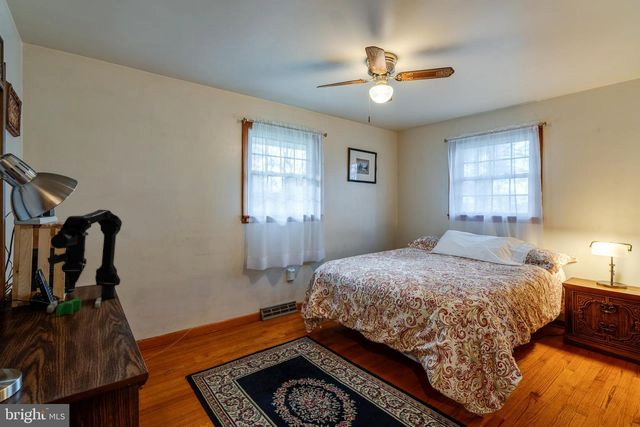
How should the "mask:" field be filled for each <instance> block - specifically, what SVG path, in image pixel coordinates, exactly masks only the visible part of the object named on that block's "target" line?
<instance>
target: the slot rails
mask: <svg viewBox="0 0 640 427" xmlns="http://www.w3.org/2000/svg"><path fill="white" fill-rule="evenodd" d="M53 301H54V302H53V303H51V302H50V304H49V305H48V306H47V307H46V313H47V314H48V313H49V314H51V313H53V311H54V310H55V308H57V305H58V300H57V299H56V300H53ZM101 302H102V299H101V297H100V296H97V298H96V300H95V303H94V308H95V309H99V308H100V306H101Z"/></svg>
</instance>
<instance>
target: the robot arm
mask: <svg viewBox="0 0 640 427" xmlns="http://www.w3.org/2000/svg"><path fill="white" fill-rule="evenodd" d="M96 223H98V225H100V226H99V227H100V231H101V233H102V235H103V243H102V244H103V245H102V256H101V265H100V266H99V267H98V268H96V269H95V276H94V278H95V285H96V287H97V286H100V295H99V297H101V300H105V299H109V300H110V299H116V292H115V291H116V286H119V285H120V284H121V278H120V276H119V275H118V270H117V267H116V265H115V263H114V262H115V254H116V253H115V251H116V242H117V235H118V234H119V233H120V231H121V227H122V225H123V221H122V220H121V218H120V217H119V216H118V215H116V214H114V213H112V212H111V211H110V210H109V209H97V210H96V211H92V212H89V213H86V214H84V215H70V216H68V217H67V218H65V221H64V222H63V224H62V226H61V228H59V229H60V230H57V234H55V235H53V236H52V238H51V240H50V243H51V245H52V247H53V248H55V249H57V250H59V249H66V250H64V252H63V253H59V254H57V253H54V254H51V255H50V256H49V257H47V258H46V259H47V263H49V266H50V267H51V266H54V265H57V264H60V263H63V262H64V263H63V264H62V265H61V271H62V273H65V275H67V279H68V283H69V287H70V288H74V287H75V285H76V283H78V280H79V279H80V277H81V275H82V273H83V271H84V269H85V268H86V265H87V258H85V252H86V240H87V239H86V238H87V236H89V235H90V234H89V232H87V230H89V229H91V227H92V225H93V224H96Z"/></svg>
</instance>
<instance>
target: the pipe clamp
mask: <svg viewBox="0 0 640 427" xmlns="http://www.w3.org/2000/svg"><path fill="white" fill-rule="evenodd" d="M81 308H82V299H81V298H80V297H77V298H73V299H70V300H68V301H65V302H62V303H59V304H57V306H56V312H55V316H56V317H61V316H63V315H72V314H73V313H74V312H81V310H82V309H81Z"/></svg>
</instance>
